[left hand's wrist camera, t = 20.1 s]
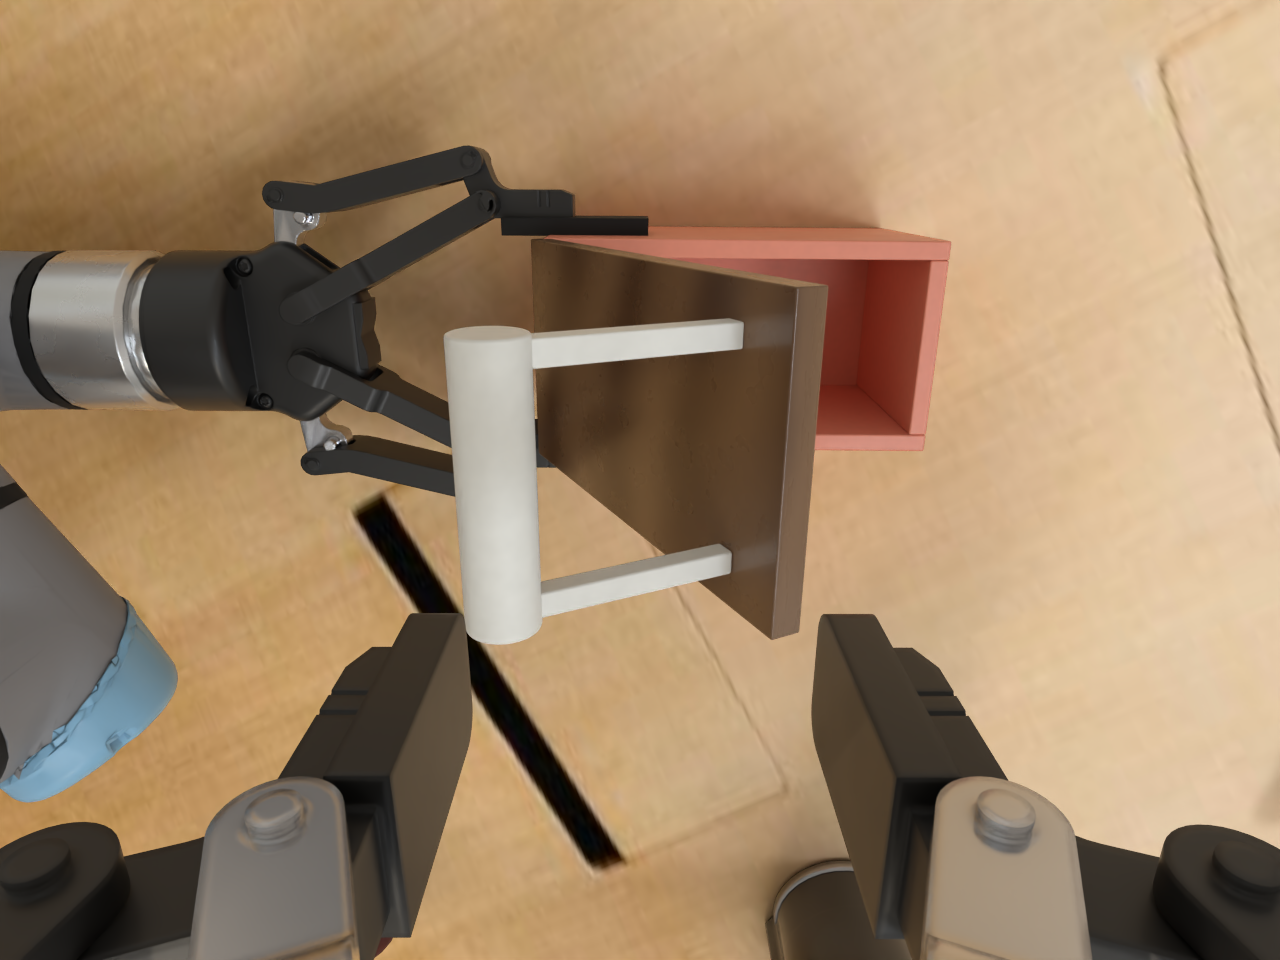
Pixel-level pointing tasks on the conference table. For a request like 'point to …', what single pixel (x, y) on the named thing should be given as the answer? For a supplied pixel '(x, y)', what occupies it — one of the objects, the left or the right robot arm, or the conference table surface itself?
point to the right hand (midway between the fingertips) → (646, 334)
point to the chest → (840, 315)
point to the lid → (640, 433)
